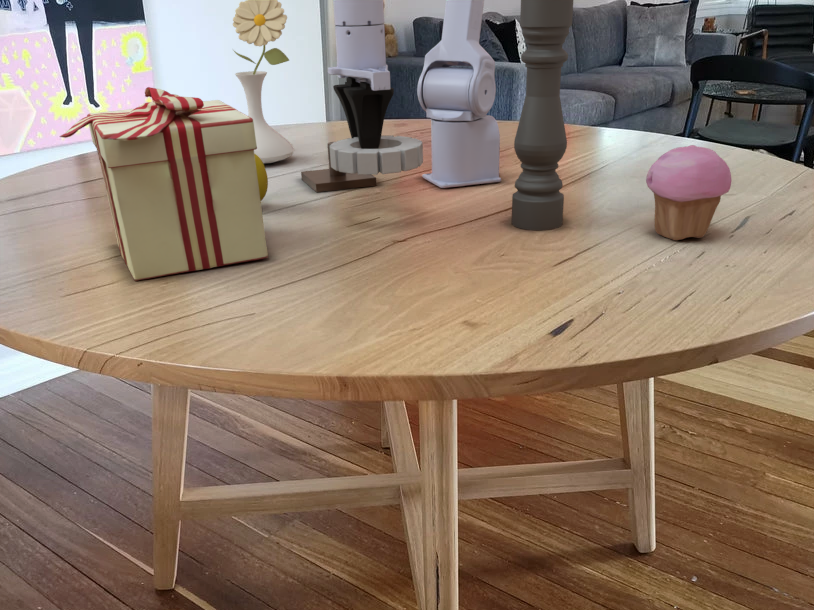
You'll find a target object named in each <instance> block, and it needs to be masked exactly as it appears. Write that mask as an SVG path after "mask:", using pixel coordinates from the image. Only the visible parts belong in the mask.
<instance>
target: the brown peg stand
mask: <svg viewBox="0 0 814 610" xmlns="http://www.w3.org/2000/svg"><path fill="white" fill-rule="evenodd" d="M334 142H335V141H330V142H328V143H327V156H328V157H327V158H328V168H323V169H315V170H304V171H303V170H302V171H300V175H301V180H302V182H303V183H305V184H306V185H308V187H310V188H311V189H312V190H313V191H314V192H316V193H323V192H331V191H333V192H334V191H341V190H350V189H351V190H352V189H359V188H360V189H361V188H367V187H376V186H377V177H376V176H374V175H363V174H358V173H355V174H350V173H344V172H339V171H336V170H334V169H333V168H332V167H331V160H330V147H329V146H330V145H331V144H332V143H334Z"/></svg>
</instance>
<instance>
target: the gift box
mask: <svg viewBox="0 0 814 610" xmlns="http://www.w3.org/2000/svg"><path fill="white" fill-rule="evenodd" d="M144 94H145V95H144V97H145V98H151V101H152V102H151V101H149V102H143V103H141V105H139V106H137V107H135V108H128V109H119V110H111V111H101V112H100V111H99V112H91V113H88V114H87V115H86V116H85V117H82V118H81V119H79V121H77V122H75V123H74V124H73V125H72V126H70V128H69V129H68V130H66V132H65V133H63V134H61V135H59V138H65V139H66V138H70V137H72V136H74V135H75V134H76V133H77V132H78V131H79V130H81V129H84V128H85V127H86V126H88V127H89V132H90V137H91V140H92V143H93V145H94V147H95V148H96V152H97V156H98V160H99V165H100V168H101V169H100V170H101V173H102V178H103V183H104V187H105V191H106V195H107V200H108V205H109V209H110V214H111V219H112V224H113V228H114V233H115V237H116V242H117V247H118V249H119V253H120V256H121V258H122V259H123V260H124V264H125V265H126V267H127V268H128V270H129V272H130V273H129V274H130V275H131V277H132V279H133V280H134V281H137V282H138V281H143V280H148V279H154V278H159V277H160V278H161V277H164V276H172V275H176V274H181V273H188V272H196V271H200V270H206V269H212V268H217V267H223V266H229V265H234V264H239V263H246V262H252V261H253V262H254V261H258V260H263V259H267V258H269V252H268V247H267V241H266V239H267V238H266V232H265V223H264V218H263V210H262V201H260V193H259V186H258V178H257V170H256V163H255V156H254V150H256V149H257V145H256V137H255V129H254V122H253V119H252V118H251V117H249V116H248V115H247V114H246V113H244V112H241V111H239V110H238V109H237V108H235V107H233V106H231V105H229V104H227V103H225V102H224V101H221V100H220V99H215V100H214V99H213V100H205V101H203V100H202V99H201V98H200V97H195V96H194V97H193V96H181V95H178V94H176V93H175V94H174V93H170V92H168V91H167V90H164V89H161V88H155V87H150V86H148V87H147V86H146V88H145V90H144Z"/></svg>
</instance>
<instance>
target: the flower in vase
mask: <svg viewBox="0 0 814 610" xmlns="http://www.w3.org/2000/svg"><path fill="white" fill-rule="evenodd" d="M282 5H283V4H282V2H280V1H278V0H244V1H243V0H242V1H240V2H239V3H238V7H237V8H235V10H234V11H235V12H234V13H235V14H234V16H233V18H232V21H233V22H232V26H233V27H234V28H235V33H236V34H239V35H238V39H239V41H243V42H246V43H247V44H248V45H254V46H255V47H262V52H261V56H260V57H259V59H258V60H257V63H256V62H255V61H253V60H252V58H250V57H248V56H247V55H243V54H241V53H238V52H236V50H235V49H232V51H233V52H234V54H236V55H237V56H238V57H239V58H242V59H243V60H246V61H248V62H251V63H252V64H255V66H254V69H253V70H251V71H250V70H249V71H240V72H235V73H234V75H235V77H237V79H238V80H239V82H240V84H241V86H242V88H243V91H244V94H245V95H244V96H245V98H246V104H247V113H248V115H247V116H249V117H251V118H252V119H253V122H254V129H255V137H256V145H257V149H256V150H254V154H256V155H257V156H258V157H259V158H260V159H261V160H262V162H263V164H264V165H265V164H272V163H276V162H279V161H283V160H286V159H287V158H289V157H291V156H292V155H293V154H294V152H295V148H294V146H293V144H292V143H291V142H290V141H289V140H288V139H287V138H286V137H285V136H283V135H282V134H281V133H280V132H278V131H277V130H275V129H274V128H273V127H272V126H270V124H268V123H267V121H266V120H265V117H264V113H263V107H262V106H263V105H262V91H263V90H262V89H263V83H264V80H265V79H266V76H267V74H268V72H267V71H263V70H258V68H259V66H260V64H261V61H262V60H263V58H264V59H265V60H266V62H267V63H268V65H272V66H275V65H280V64H283V63H287V62H289V61H290V59H289V58H288V56H287V55H286V54H285V52H284V51H283V50H281V49H280V48H277V47H273V48H270V49H269V50H267V51H266V46H267V45H268V44H269V43H270V42H275V41H277V40H278V39H280V37H281V36H282V35H283V31H282V30H284V29H285V28H286V25H285V24H286V23H287V20H288V15H287V14H284V13H285V9H284V8H283V7H282Z"/></svg>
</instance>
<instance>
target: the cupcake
mask: <svg viewBox="0 0 814 610" xmlns="http://www.w3.org/2000/svg"><path fill="white" fill-rule="evenodd" d="M645 184H646V186H647V188H648V189H649V190H650V191H651V192H652V193H653V199H654V218H653V221H654V231H655V232H656V233H657V235H659V236H661V237H664V238H667V239H670V240H673V241H680V240H684V239H687V238H696V239H701V238H703V237H704V236H705V235H706V234H707V232H708V230H709V228H710V226H711V223H712V221H713V218H714V215H715V213H716V211H717V208H718V206H719V204H720V202H721V199H722V196H723V195H726V194H727V193H729V192H730V189H731V187H732V171H731V168H730V167H729V165H728V164H727V162H726V161H725V160H724V159H723V158H722V157H721V156H720V155H719V154H718V153H717V151H715V150H713V149H711V148H708V147H703V146H697V145H694V144H690V145H688V146H679V147H674V148H672V149H669V150H668V151H666V152H664V153H663V154H661V155H660V156H659V157H658V158H657V159H656V160H655V161H654V162H653V163H652V164H651V166H650V167H649V169H648V170H647V173H646V178H645Z"/></svg>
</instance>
